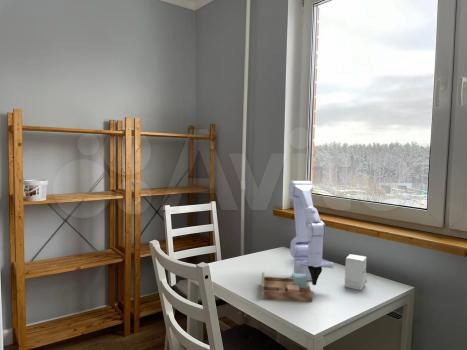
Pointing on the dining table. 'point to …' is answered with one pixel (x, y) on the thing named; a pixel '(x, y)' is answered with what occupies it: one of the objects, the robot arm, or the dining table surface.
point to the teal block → (300, 280)
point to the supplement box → (355, 271)
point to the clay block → (293, 288)
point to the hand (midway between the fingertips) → (314, 284)
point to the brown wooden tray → (283, 290)
